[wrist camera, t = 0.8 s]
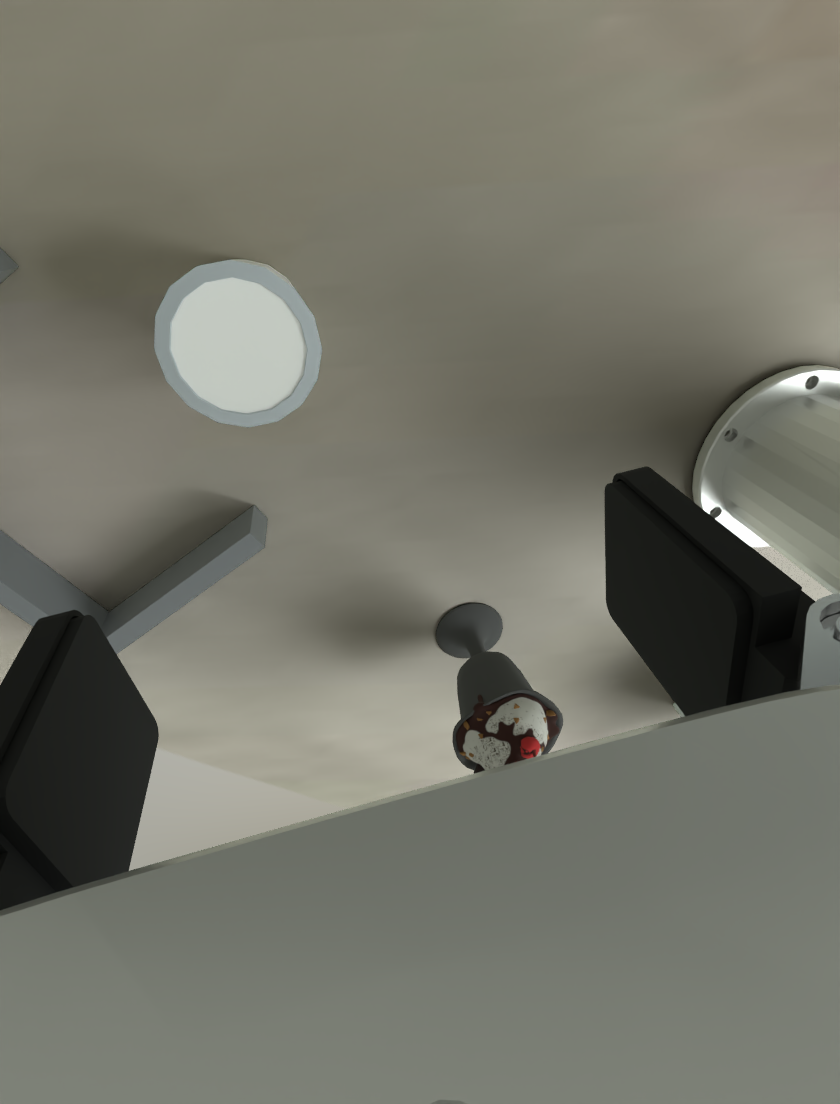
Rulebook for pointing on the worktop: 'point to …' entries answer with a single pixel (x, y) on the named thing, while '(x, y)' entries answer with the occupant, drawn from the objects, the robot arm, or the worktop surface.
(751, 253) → the worktop surface
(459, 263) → the worktop surface
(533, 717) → the sundae
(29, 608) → the box
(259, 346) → the shot glass
